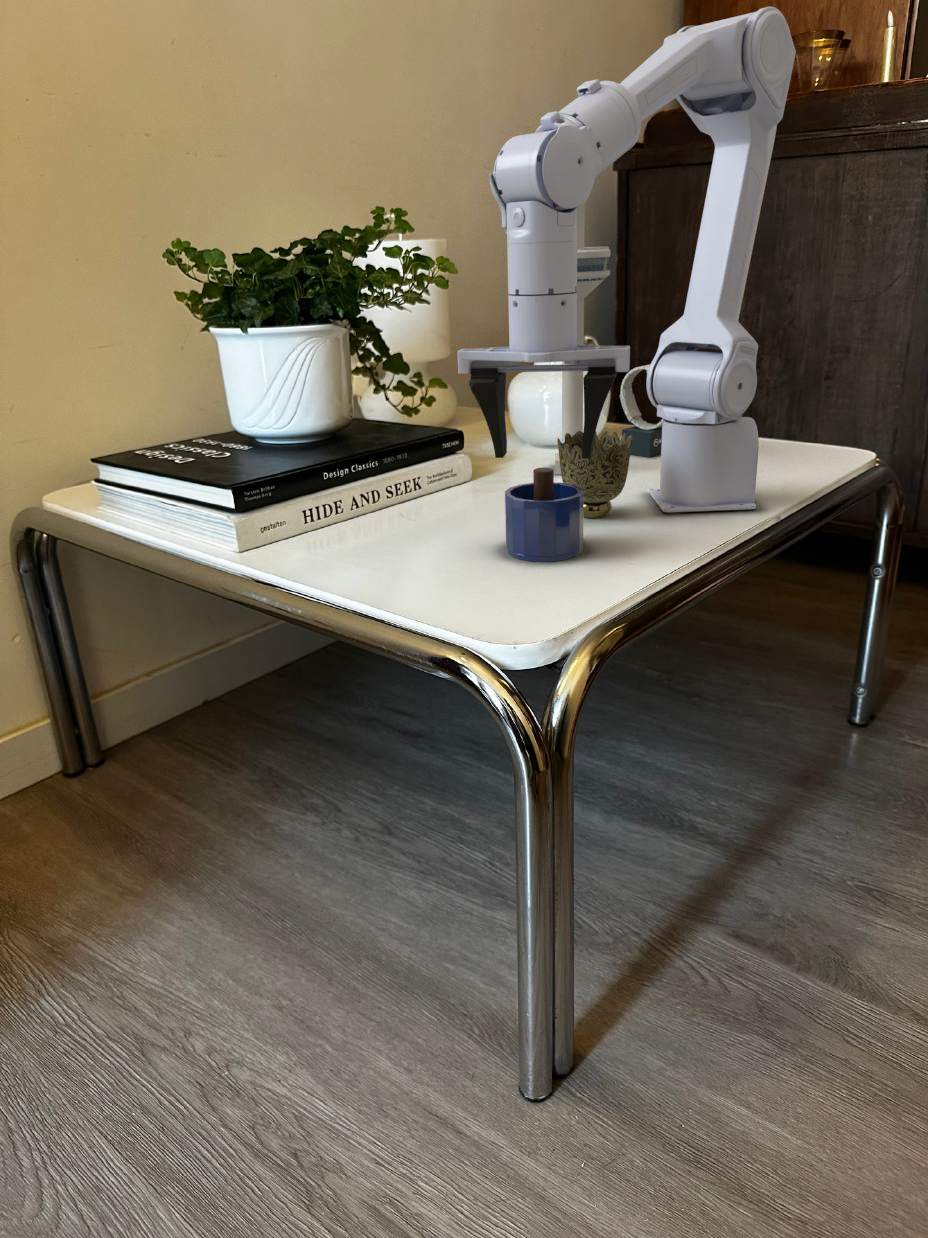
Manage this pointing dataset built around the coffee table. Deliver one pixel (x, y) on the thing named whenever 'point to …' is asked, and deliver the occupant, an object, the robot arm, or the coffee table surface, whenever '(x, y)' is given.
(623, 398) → the watch
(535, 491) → the brown cylinder
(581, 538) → the cup
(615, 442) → the cup
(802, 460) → the coffee table surface
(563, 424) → the model tower
